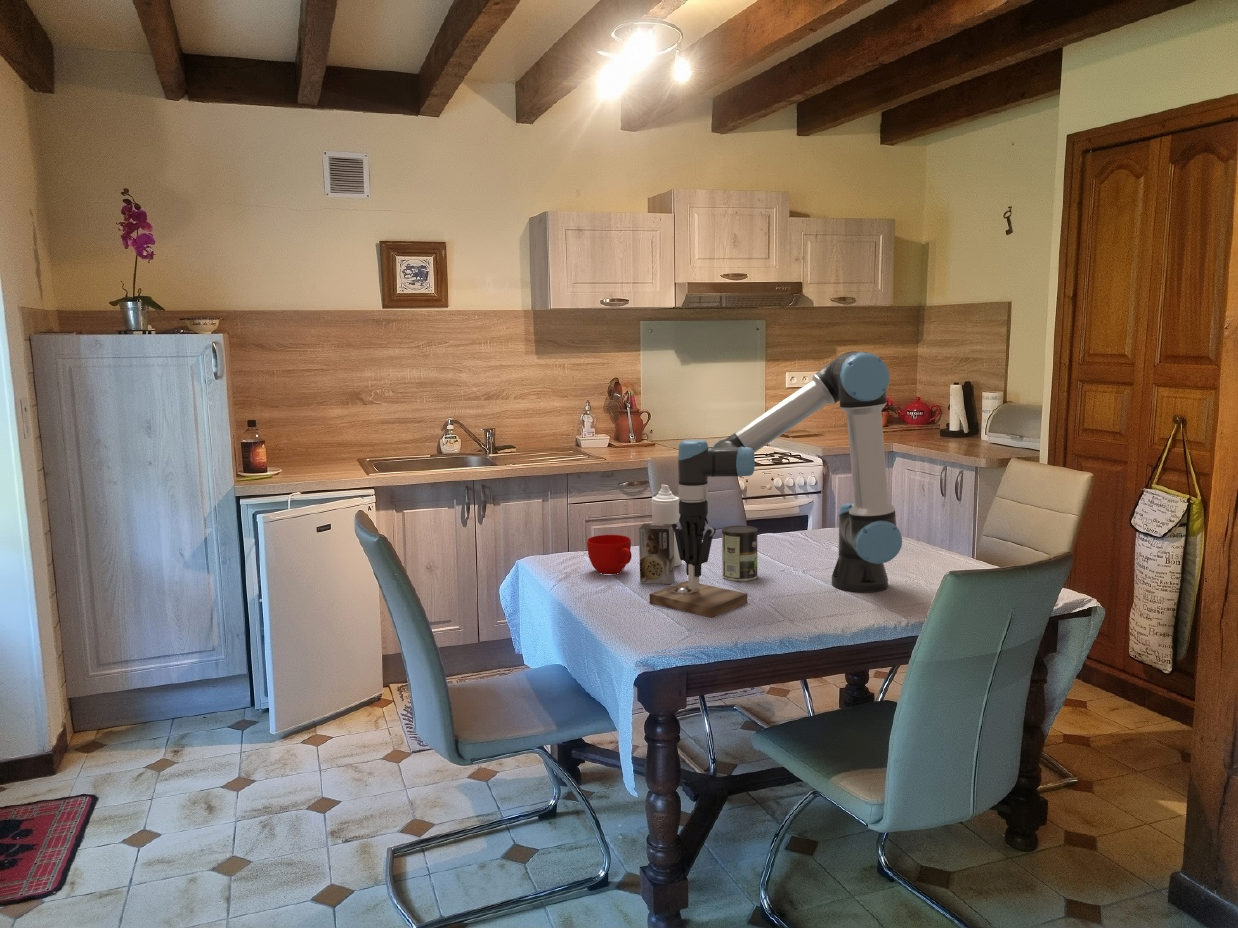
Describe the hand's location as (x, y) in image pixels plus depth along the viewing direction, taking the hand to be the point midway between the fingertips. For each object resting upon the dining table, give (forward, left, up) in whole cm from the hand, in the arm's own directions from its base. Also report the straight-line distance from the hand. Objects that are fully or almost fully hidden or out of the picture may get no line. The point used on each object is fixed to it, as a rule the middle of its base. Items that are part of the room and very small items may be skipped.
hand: (693, 587), depth 247 cm
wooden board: (-1, 0, -4) cm, 4 cm away
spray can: (+30, -26, -4) cm, 39 cm away
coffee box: (+21, -10, -4) cm, 23 cm away
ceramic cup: (+36, -8, -4) cm, 37 cm away
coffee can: (+5, -28, -4) cm, 29 cm away
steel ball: (+4, 0, -2) cm, 4 cm away
